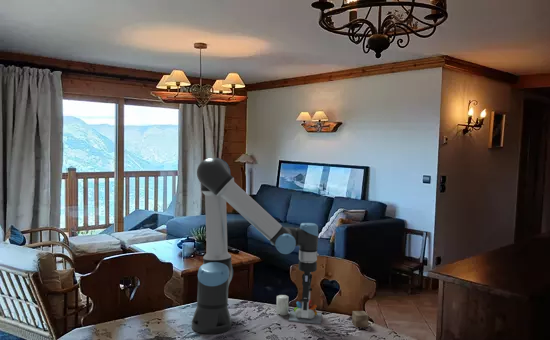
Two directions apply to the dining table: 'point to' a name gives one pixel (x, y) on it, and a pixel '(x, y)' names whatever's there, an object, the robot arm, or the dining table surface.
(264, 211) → the robot arm
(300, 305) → the rainbow wheeled toy
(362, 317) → the walnut block
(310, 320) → the felt mat
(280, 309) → the white glossy rounded part
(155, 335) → the dining table surface
